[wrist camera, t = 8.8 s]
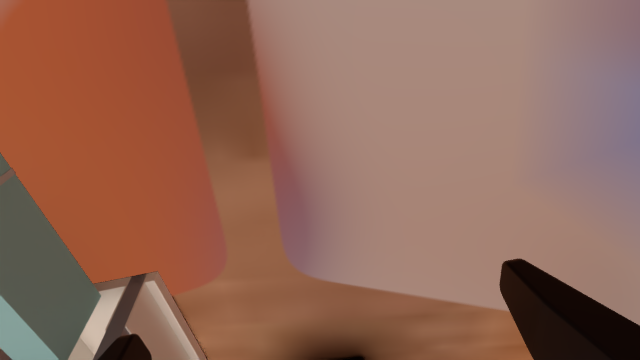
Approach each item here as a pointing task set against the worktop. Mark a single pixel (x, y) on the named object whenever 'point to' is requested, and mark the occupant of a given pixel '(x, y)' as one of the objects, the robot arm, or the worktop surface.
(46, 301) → the teal square rod
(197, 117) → the worktop surface
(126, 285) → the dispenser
